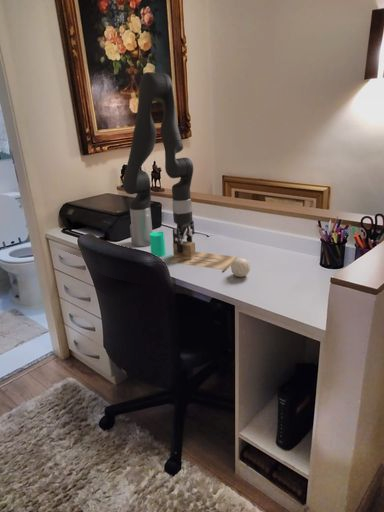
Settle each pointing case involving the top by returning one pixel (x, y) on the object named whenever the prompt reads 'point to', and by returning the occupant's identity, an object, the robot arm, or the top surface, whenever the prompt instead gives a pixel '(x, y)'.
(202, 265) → the board
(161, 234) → the candle
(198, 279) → the top surface
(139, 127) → the robot arm
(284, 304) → the top surface
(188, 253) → the block
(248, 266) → the baseball
